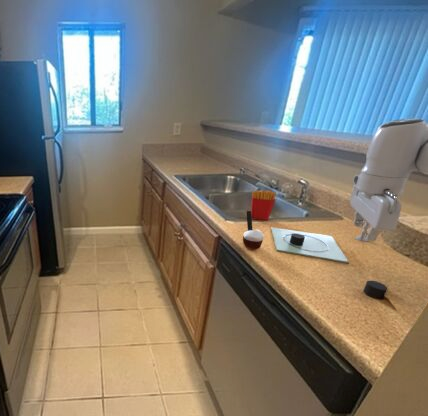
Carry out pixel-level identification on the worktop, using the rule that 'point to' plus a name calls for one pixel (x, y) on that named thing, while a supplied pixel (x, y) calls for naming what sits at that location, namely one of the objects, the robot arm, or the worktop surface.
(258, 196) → the french fries
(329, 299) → the worktop surface
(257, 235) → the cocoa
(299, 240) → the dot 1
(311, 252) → the pale blue square plate
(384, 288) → the dot
